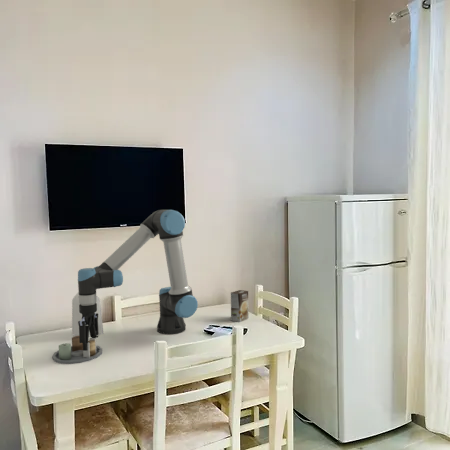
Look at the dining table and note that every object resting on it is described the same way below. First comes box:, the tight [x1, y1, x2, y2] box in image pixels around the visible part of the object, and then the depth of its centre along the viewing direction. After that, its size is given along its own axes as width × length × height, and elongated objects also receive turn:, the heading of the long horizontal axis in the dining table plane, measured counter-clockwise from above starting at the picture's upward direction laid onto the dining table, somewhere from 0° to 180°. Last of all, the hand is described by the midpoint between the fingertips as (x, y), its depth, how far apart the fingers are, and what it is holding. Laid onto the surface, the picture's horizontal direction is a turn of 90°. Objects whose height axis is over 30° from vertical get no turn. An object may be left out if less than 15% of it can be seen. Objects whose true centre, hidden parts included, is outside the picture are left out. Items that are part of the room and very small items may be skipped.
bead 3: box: [88, 339, 96, 357], centre depth 191 cm, size 5×5×6 cm
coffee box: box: [230, 289, 250, 323], centre depth 244 cm, size 9×6×16 cm
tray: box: [51, 344, 103, 365], centre depth 192 cm, size 21×21×2 cm
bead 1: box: [58, 342, 72, 360], centre depth 187 cm, size 5×5×6 cm
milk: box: [71, 291, 104, 338], centre depth 223 cm, size 12×12×26 cm
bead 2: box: [71, 335, 83, 352], centre depth 198 cm, size 5×5×6 cm
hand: (90, 354), depth 191 cm, fingers open, 5 cm apart
